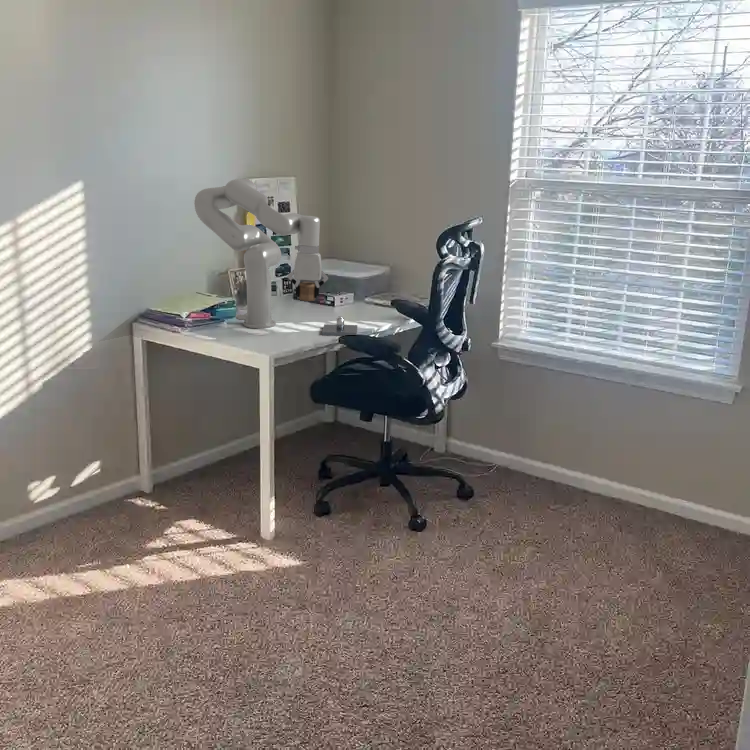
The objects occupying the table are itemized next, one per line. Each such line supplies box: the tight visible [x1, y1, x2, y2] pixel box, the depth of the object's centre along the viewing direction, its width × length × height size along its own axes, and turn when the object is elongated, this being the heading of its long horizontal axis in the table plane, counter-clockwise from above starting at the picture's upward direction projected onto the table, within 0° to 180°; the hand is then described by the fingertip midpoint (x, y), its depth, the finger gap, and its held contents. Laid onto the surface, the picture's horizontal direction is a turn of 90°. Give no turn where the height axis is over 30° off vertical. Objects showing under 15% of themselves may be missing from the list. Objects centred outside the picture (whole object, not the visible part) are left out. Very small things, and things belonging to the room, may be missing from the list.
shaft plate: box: [321, 315, 358, 337], centre depth 316 cm, size 13×13×6 cm
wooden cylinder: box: [298, 281, 316, 302], centre depth 312 cm, size 6×6×6 cm
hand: (307, 296), depth 313 cm, fingers closed on wooden cylinder, 6 cm apart
